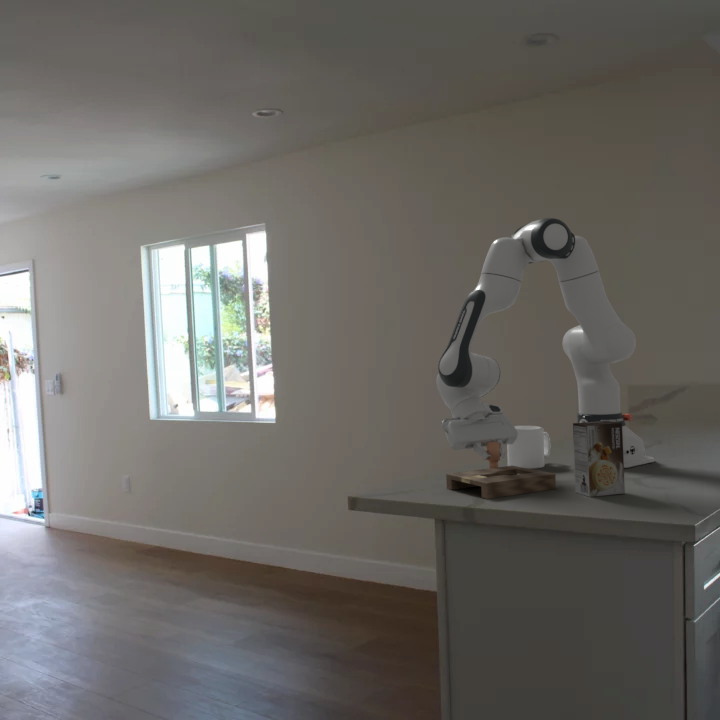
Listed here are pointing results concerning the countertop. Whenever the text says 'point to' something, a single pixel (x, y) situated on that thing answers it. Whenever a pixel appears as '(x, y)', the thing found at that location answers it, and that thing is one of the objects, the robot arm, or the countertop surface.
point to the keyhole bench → (503, 481)
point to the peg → (494, 453)
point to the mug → (529, 447)
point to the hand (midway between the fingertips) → (495, 457)
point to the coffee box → (598, 458)
